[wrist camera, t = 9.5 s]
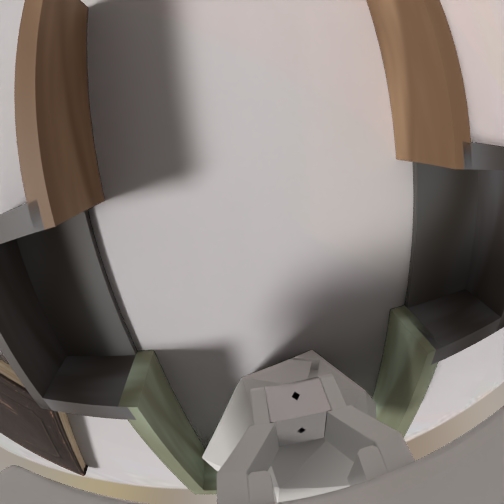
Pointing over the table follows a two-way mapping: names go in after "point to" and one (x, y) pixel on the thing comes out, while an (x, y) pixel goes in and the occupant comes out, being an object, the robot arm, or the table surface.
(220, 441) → the die
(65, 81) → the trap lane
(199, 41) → the table surface
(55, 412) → the hardcover book
